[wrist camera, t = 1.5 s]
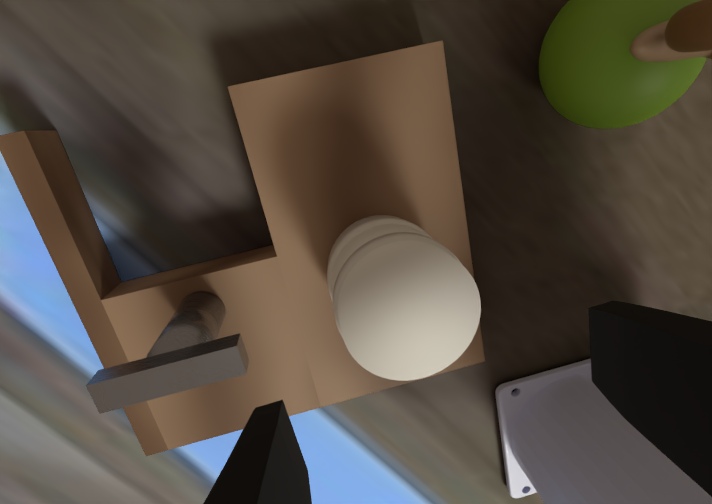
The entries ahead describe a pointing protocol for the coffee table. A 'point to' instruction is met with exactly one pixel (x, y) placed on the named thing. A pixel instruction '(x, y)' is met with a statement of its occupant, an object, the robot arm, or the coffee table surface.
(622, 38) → the snail figurine
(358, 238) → the ribbed cream cylinder
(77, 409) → the coffee table surface
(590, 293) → the coffee table surface
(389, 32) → the coffee table surface
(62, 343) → the coffee table surface
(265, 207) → the shelf board
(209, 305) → the hook post
